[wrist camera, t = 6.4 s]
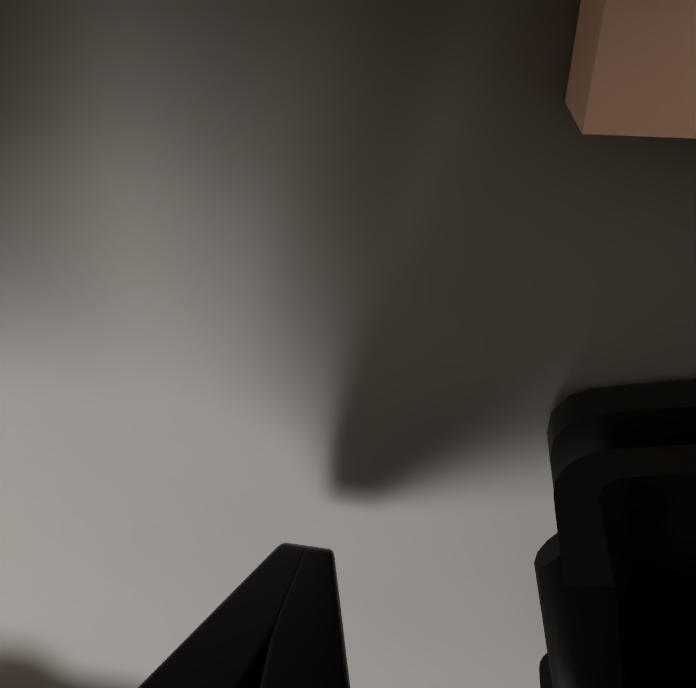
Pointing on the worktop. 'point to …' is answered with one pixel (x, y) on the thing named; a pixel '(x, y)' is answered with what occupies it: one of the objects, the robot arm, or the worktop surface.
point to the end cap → (621, 539)
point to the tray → (634, 68)
